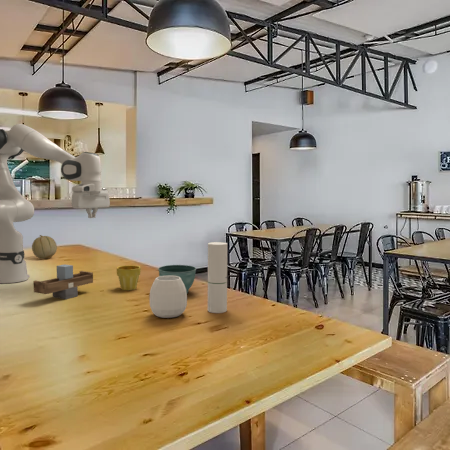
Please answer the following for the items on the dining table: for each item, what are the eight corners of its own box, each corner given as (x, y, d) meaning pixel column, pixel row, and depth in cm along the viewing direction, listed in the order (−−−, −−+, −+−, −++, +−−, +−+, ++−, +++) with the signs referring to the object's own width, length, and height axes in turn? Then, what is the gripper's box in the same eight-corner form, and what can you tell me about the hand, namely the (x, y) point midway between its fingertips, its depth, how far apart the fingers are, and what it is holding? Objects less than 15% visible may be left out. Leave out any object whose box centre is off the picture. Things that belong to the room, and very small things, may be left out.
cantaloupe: (51, 260, 259) (50, 236, 258) (27, 260, 259) (27, 236, 258) (61, 257, 274) (60, 234, 273) (38, 256, 274) (37, 233, 273)
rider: (56, 281, 173) (56, 265, 173) (64, 279, 177) (64, 264, 176) (65, 283, 171) (65, 267, 170) (73, 281, 174) (72, 265, 174)
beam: (33, 301, 166) (32, 280, 165) (80, 289, 186) (80, 270, 186) (46, 304, 162) (46, 283, 161) (94, 291, 183) (93, 272, 182)
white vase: (156, 322, 141) (156, 283, 140) (144, 312, 153) (144, 276, 152) (192, 317, 147) (192, 279, 146) (179, 308, 159) (178, 272, 158)
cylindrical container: (229, 308, 158) (230, 242, 156) (223, 313, 152) (223, 245, 150) (211, 306, 161) (212, 241, 159) (204, 311, 154) (205, 244, 152)
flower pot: (203, 292, 182) (203, 268, 181) (175, 299, 171) (175, 273, 170) (179, 286, 193) (179, 263, 192) (150, 292, 182) (150, 268, 181)
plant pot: (134, 292, 183) (134, 269, 182) (112, 290, 185) (112, 268, 184) (144, 286, 193) (144, 265, 192) (123, 285, 195) (122, 264, 194)
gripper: (103, 187, 203) (103, 216, 205) (68, 187, 186) (69, 218, 187) (112, 188, 200) (113, 217, 202) (79, 187, 183) (79, 219, 184)
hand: (92, 217), depth 194 cm, fingers closed
